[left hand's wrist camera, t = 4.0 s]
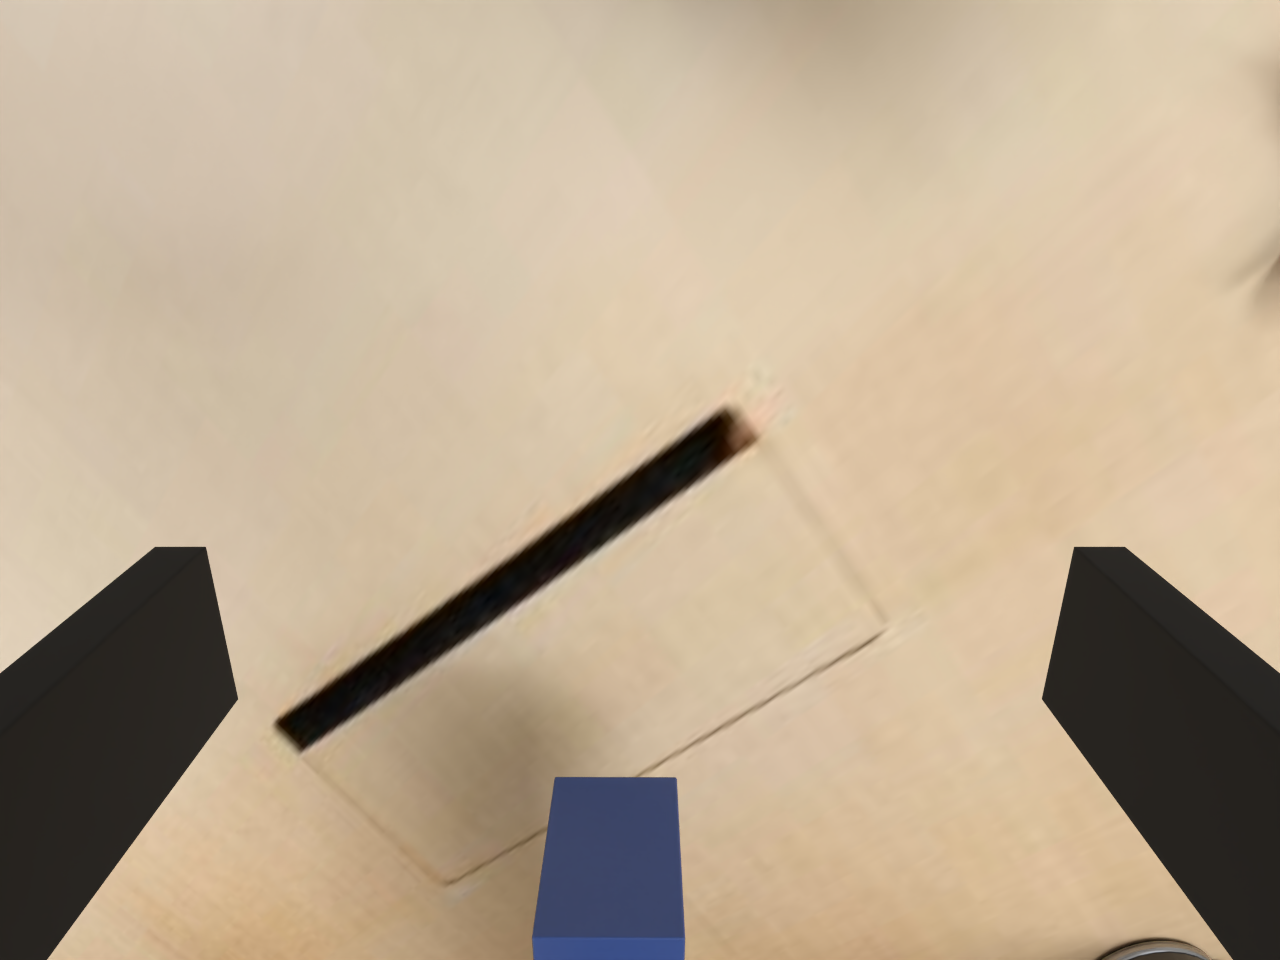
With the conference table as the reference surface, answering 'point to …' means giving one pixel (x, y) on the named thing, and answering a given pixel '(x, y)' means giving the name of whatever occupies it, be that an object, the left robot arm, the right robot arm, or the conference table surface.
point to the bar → (611, 872)
